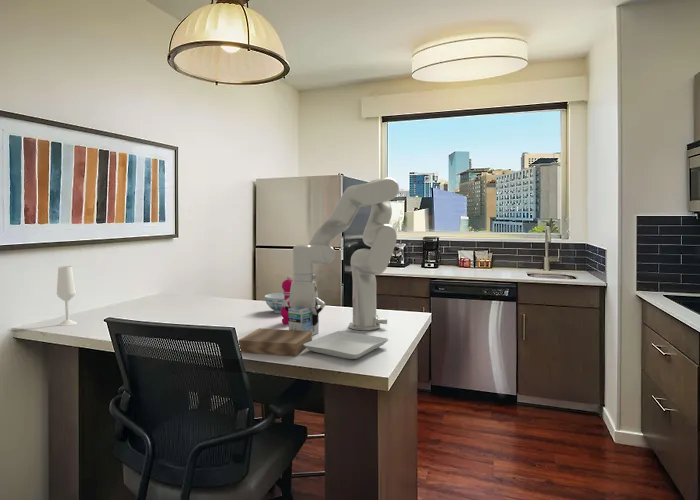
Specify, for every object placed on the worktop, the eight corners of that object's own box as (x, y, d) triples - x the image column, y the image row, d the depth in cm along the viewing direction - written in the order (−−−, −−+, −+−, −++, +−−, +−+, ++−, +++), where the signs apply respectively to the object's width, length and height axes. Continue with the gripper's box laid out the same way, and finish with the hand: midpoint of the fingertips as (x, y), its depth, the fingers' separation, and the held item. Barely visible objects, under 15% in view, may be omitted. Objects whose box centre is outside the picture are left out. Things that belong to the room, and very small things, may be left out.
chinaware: (258, 312, 205) (257, 296, 204) (280, 307, 217) (280, 291, 217) (281, 316, 196) (281, 299, 196) (303, 310, 209) (303, 294, 208)
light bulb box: (302, 339, 158) (302, 310, 157) (287, 337, 162) (287, 308, 161) (319, 332, 167) (319, 305, 167) (305, 330, 171) (305, 303, 170)
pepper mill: (294, 325, 179) (294, 277, 178) (278, 324, 181) (277, 276, 179) (300, 321, 186) (300, 274, 185) (284, 320, 188) (283, 274, 187)
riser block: (311, 342, 154) (311, 331, 154) (296, 356, 139) (296, 343, 139) (259, 339, 159) (259, 328, 158) (238, 352, 143) (238, 340, 143)
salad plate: (301, 353, 143) (301, 343, 142) (338, 338, 160) (338, 329, 160) (356, 365, 131) (356, 354, 131) (389, 348, 149) (389, 338, 149)
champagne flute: (71, 321, 187) (69, 265, 186) (80, 323, 184) (78, 266, 182) (54, 324, 181) (52, 267, 180) (63, 326, 178) (60, 268, 176)
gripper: (328, 277, 165) (328, 323, 166) (284, 276, 169) (285, 320, 170) (323, 279, 157) (323, 327, 159) (277, 278, 161) (278, 325, 162)
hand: (303, 324), depth 164 cm, fingers closed on light bulb box, 8 cm apart
